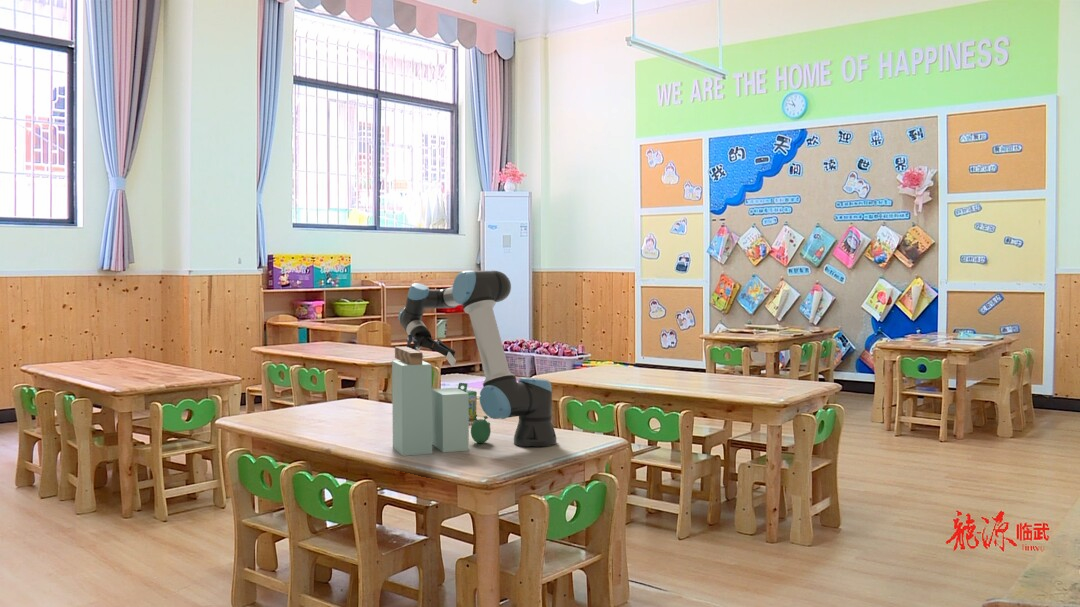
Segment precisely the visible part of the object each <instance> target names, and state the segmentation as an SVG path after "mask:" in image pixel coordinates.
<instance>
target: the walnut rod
mask: <svg viewBox="0 0 1080 607" xmlns="http://www.w3.org/2000/svg"><path fill="white" fill-rule="evenodd" d="M422 354H423V352H422V351H421V352H419V351H417V350H414V349H411V348H409V347H406V346H394V359H396V360H397V361H403V362H405V363H407V364H409V365H422V361H423V359H422Z"/></svg>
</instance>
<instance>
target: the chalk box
mask: <svg viewBox="0 0 1080 607" xmlns="http://www.w3.org/2000/svg"><path fill="white" fill-rule="evenodd" d="M462 387H463V388H462ZM457 388H458V389H460V390H462V391H464V392H467V393H469V421H470V420H476V419H475V418H474V417H473V416H474V415H477V399H478V398H477V391H475V390H468V389H467V388H468V383H466V382H459V383H458V387H457Z"/></svg>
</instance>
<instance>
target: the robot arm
mask: <svg viewBox="0 0 1080 607" xmlns="http://www.w3.org/2000/svg"><path fill="white" fill-rule="evenodd" d="M511 291H512V284H511V280H510V278H509V277H508V276H507V275H506V274H505V273H503V272H501V271H500V270H499V271H498V270H473V269H471V270H464V271H460V272H459V273H458V274H457V275H456V277H454V280H453V284H452V287H447V288H442V289H430V288H429V286H427V285H425V284H424V283H418V282H417V283H416V282H415V283H413V284H412V283H411V285H410V287H409V289H408V292H407V296H406V303H405V305H404V308H403V309H401V310H400V312H399V313H398V321H399V324H400V326H401V327H402V328H403V330H404V331H405V333H406V334H407V338H406V346H405V347H409V348H411V349H414V350H417V351H419V352H422V351H421V350H420V348H426V349H430V350H431V351H435V352H437V353H438V354H441V355H443V356H444V357H445V359H446V360H447V361H448V363H449V365H450V366H451V367H455V365H456V362H457V360H456V358H455V354H456V350H454V349H453V348H451V347H450V346H448V345H447V344H445V342H443V341H442V340H441V339H439V338H438V339H437V340H435V339H433V338H432V334H431V332H430V330H429V329H428V328H427V326H426V325H425V323H424V322H423V321H422V320H423V314H424V311H425V309H426V310H429V309H453V308H456V307H458V306H462V309H463V311H464V313H465V314H468V316H469V319H470V323H471V327H472V330H473V333H474V334H473V335H474V337H475V342H476V346H477V350H478V354H479V359H480V361H481V365H482V369H483V372H484V376H485V379H484V381H483V383H482V386H483V387H482V388H481V390H480V393H479V395H480V396H479V404H480V408H481V409H482V411H483V413H484V414H485V416H487V417H489V418H491V419H493V420H500V419H501V420H506V419H508V418H514V417H518V423H517V427H516V429H515V432H514V435H513V443H514V445H517V446H520V447H525V446H545V447H549V446H548V445H551V446H554V445H553V444H555V445H556V444H557V435H556V432H555V428H554V424H553V421H552V420H553V419H552V418H553V417H552V416H553V415H552V414H553V413H552V406H553V404H552V402H553V400H552V399H553V398H552V397H553V396H552V395H553V391H552V383H551V381H550V380H548V379H543V378H534V377H525V376H524V377H521V376H520V377H519V378H518V381H517V378H516V375H515V374H514V373H513V372H511V371H510V368H509V365H508V360H507V356H506V353H505V349H504V346H503V342H502V338H501V334H500V331H499V327H498V324H497V319H496V316H495V312H494V307H495V306H496V303H499V302H502V301H504V300H506V299H507V298H508V297H509V295H510V294H511ZM411 344H412V345H411ZM423 359H424V355H423V353H422V360H423Z"/></svg>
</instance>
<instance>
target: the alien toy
mask: <svg viewBox="0 0 1080 607" xmlns="http://www.w3.org/2000/svg"><path fill="white" fill-rule="evenodd" d="M473 417H474V418H475V419H474V422H472V424H471V427H470V435H471V438H472V440H473V441H474V442H475V443H477V444H483V443H484V444H485V443H486V442H487V441H488V440H489V439H490V436H491V422H489V421H487V419H488V417H489V416H487V415H484V416H483V419H481V418H480V419H479V418H478V414H476V415H474V416H473ZM477 418H478V419H477Z"/></svg>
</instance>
